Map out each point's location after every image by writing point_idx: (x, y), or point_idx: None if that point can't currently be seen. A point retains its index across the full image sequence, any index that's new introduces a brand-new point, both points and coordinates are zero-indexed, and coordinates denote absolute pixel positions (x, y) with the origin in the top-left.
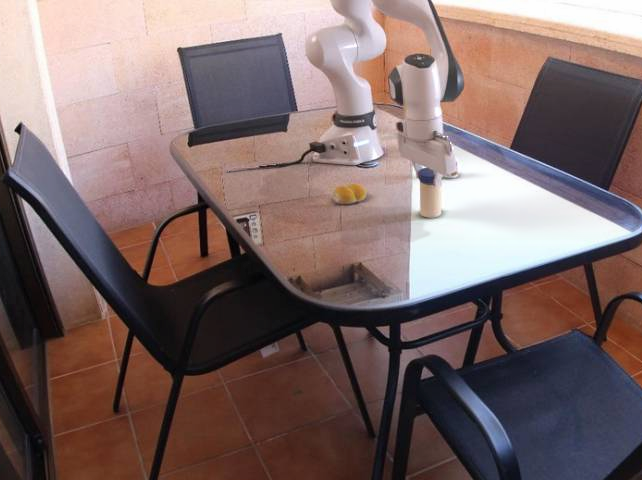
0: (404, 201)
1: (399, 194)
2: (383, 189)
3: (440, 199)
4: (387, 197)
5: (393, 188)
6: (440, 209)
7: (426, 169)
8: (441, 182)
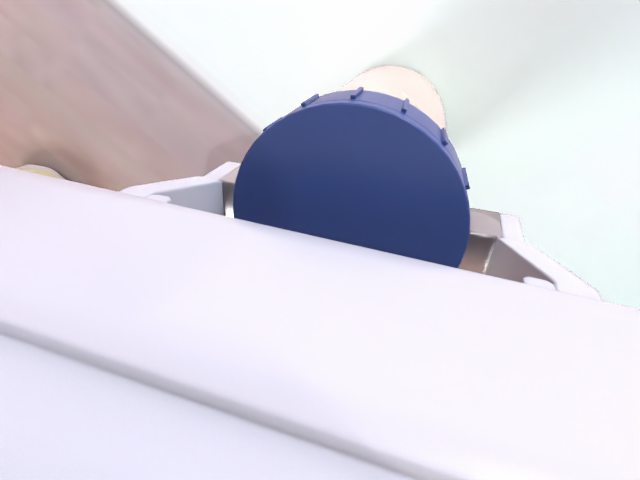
0: (182, 102)
1: (102, 60)
2: (24, 72)
3: (443, 120)
4: (107, 122)
5: (29, 30)
6: (441, 105)
7: (273, 215)
8: (521, 227)
